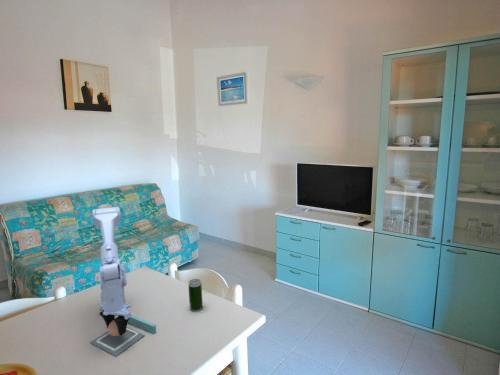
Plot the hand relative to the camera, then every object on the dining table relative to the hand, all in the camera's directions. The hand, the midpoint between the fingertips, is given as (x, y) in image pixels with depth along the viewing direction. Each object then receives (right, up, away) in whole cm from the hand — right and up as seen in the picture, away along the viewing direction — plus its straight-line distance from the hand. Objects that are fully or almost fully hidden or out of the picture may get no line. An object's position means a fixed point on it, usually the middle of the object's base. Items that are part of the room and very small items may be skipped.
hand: (116, 331), depth 109 cm
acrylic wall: (+4, -2, +9) cm, 10 cm away
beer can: (+25, 0, +20) cm, 32 cm away
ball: (0, -1, 0) cm, 1 cm away
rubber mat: (0, -3, +1) cm, 3 cm away
